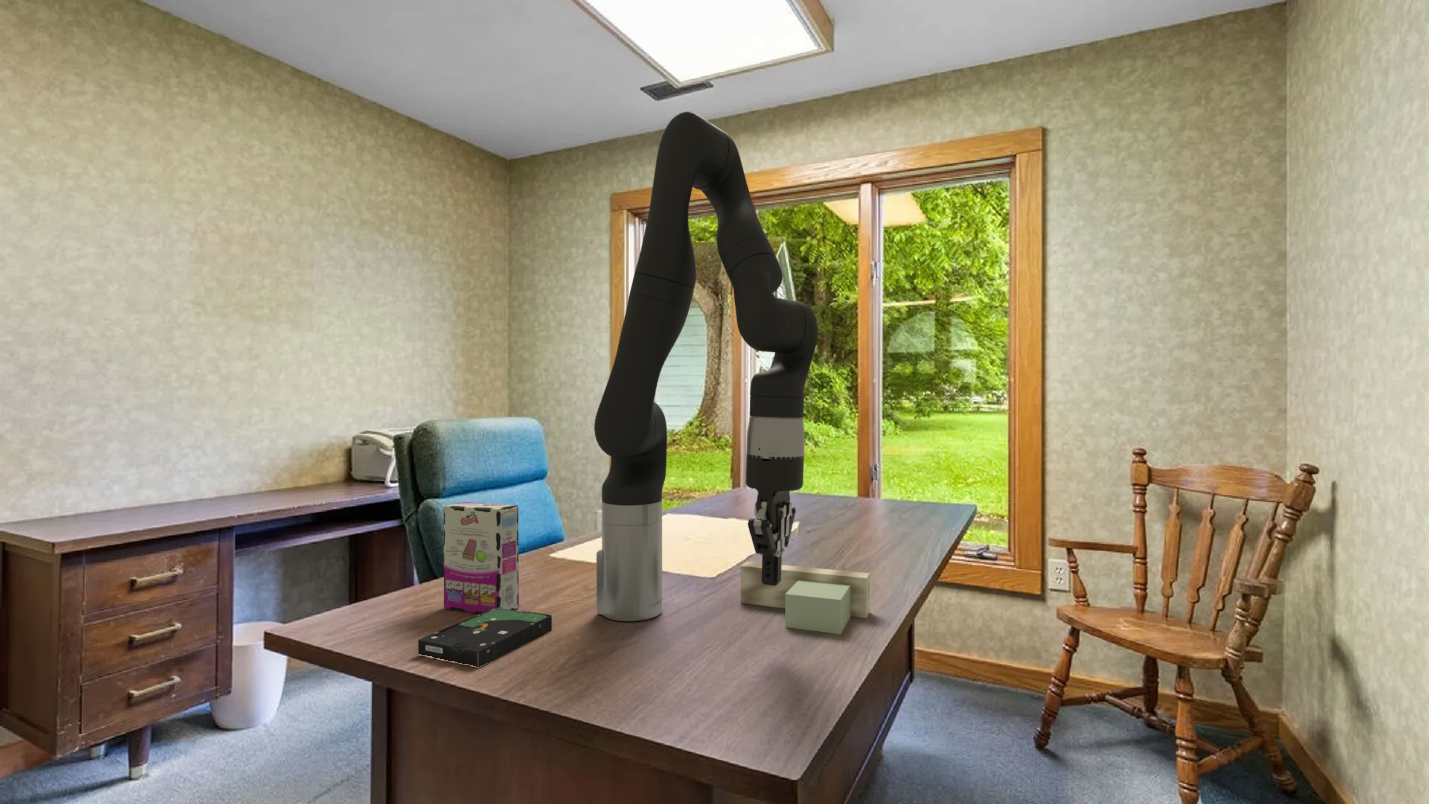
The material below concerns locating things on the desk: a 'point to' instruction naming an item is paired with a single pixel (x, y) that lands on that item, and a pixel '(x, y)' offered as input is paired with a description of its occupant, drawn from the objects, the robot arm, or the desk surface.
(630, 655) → the desk surface
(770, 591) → the stop board
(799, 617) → the sage block
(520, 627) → the disk drive
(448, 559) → the candy bar box
